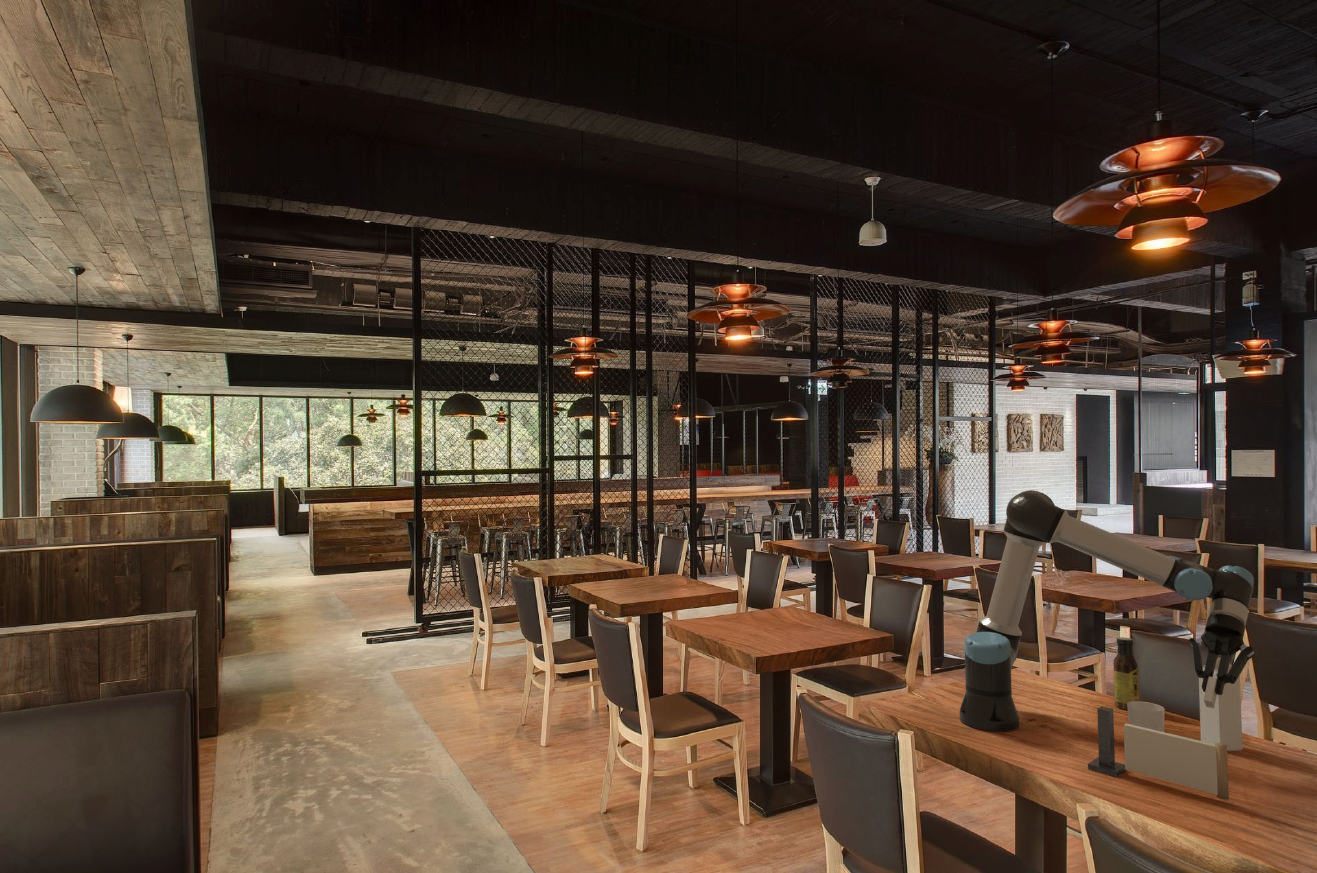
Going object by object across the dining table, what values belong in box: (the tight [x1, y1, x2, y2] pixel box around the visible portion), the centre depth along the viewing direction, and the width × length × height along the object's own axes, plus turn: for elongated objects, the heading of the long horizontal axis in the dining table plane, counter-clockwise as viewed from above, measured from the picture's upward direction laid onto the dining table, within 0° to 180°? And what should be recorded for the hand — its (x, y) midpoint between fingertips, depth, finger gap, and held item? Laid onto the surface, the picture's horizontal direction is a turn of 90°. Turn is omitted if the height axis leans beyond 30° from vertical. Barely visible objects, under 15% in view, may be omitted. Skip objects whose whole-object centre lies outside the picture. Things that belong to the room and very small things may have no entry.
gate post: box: [1087, 705, 1127, 778], centre depth 172 cm, size 6×6×14 cm
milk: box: [1198, 657, 1243, 752], centre depth 186 cm, size 6×6×22 cm
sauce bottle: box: [1113, 636, 1141, 711], centre depth 215 cm, size 7×6×20 cm
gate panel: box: [1123, 722, 1230, 801], centre depth 162 cm, size 19×2×11 cm, turn 39°
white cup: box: [1127, 700, 1166, 732], centre depth 186 cm, size 8×8×10 cm
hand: (1208, 704), depth 172 cm, fingers closed
